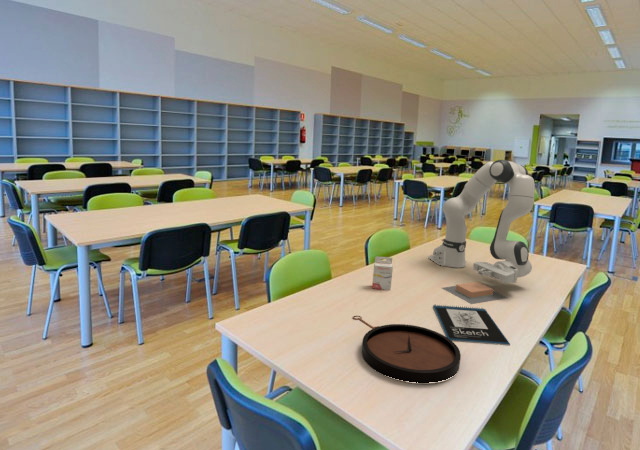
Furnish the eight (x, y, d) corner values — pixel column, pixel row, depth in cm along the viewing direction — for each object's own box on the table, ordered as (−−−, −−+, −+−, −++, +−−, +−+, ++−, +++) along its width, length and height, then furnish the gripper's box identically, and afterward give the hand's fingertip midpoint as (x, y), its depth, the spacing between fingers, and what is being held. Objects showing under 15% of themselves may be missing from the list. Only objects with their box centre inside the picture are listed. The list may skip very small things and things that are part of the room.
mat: (441, 289, 198) (441, 287, 197) (476, 284, 206) (476, 282, 206) (471, 305, 180) (471, 304, 180) (508, 299, 188) (508, 297, 188)
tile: (476, 287, 200) (455, 290, 195) (477, 281, 199) (456, 284, 194) (492, 295, 191) (470, 298, 186) (493, 289, 190) (471, 292, 185)
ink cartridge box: (372, 289, 194) (374, 259, 190) (372, 285, 198) (374, 255, 195) (390, 290, 193) (393, 260, 190) (390, 286, 198) (392, 257, 194)
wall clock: (435, 386, 114) (343, 346, 133) (433, 399, 115) (342, 357, 134) (475, 345, 138) (392, 316, 157) (473, 355, 139) (391, 326, 158)
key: (387, 332, 154) (362, 316, 166) (387, 329, 153) (362, 313, 166) (375, 334, 150) (350, 317, 163) (375, 331, 150) (351, 315, 163)
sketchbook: (447, 342, 148) (448, 337, 147) (432, 307, 177) (432, 303, 176) (509, 346, 146) (510, 341, 146) (483, 311, 175) (484, 306, 175)
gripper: (486, 257, 206) (465, 260, 200) (521, 270, 188) (498, 273, 182) (485, 269, 207) (463, 272, 202) (518, 283, 189) (496, 287, 183)
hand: (480, 273), depth 192 cm, fingers closed
